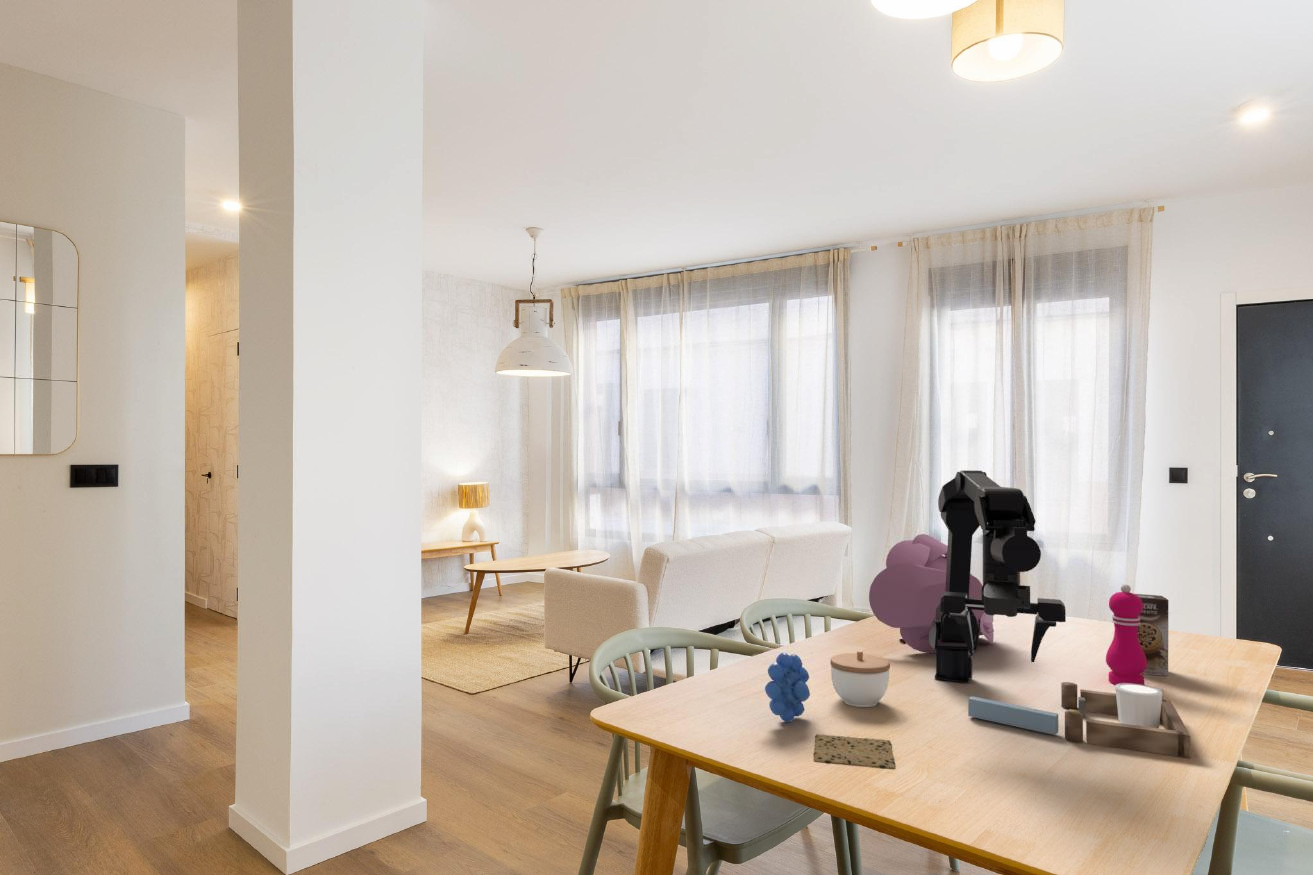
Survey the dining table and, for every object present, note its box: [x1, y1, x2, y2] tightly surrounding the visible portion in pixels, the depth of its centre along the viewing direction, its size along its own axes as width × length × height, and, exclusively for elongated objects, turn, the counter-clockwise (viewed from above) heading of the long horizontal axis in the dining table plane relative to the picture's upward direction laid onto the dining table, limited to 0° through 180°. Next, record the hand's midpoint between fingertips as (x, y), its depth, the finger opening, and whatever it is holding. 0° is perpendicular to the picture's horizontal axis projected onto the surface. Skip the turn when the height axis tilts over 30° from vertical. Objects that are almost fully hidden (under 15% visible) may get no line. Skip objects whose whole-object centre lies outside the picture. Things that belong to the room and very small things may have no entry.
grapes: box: [764, 652, 811, 723], centre depth 134 cm, size 12×7×12 cm, turn 136°
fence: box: [1060, 681, 1192, 759], centre depth 133 cm, size 17×21×5 cm
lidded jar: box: [829, 650, 891, 708], centre depth 146 cm, size 11×11×9 cm
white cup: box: [1114, 683, 1163, 729], centre depth 132 cm, size 7×7×7 cm
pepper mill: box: [1105, 584, 1147, 686], centre depth 160 cm, size 7×7×20 cm
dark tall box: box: [1115, 591, 1169, 677], centre depth 170 cm, size 9×6×16 cm
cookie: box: [813, 733, 897, 770], centre depth 122 cm, size 12×12×1 cm
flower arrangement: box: [868, 533, 995, 654], centre depth 193 cm, size 35×24×28 cm
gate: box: [967, 696, 1059, 736], centre depth 134 cm, size 2×14×3 cm, turn 49°
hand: (1001, 658), depth 130 cm, fingers open, 9 cm apart
